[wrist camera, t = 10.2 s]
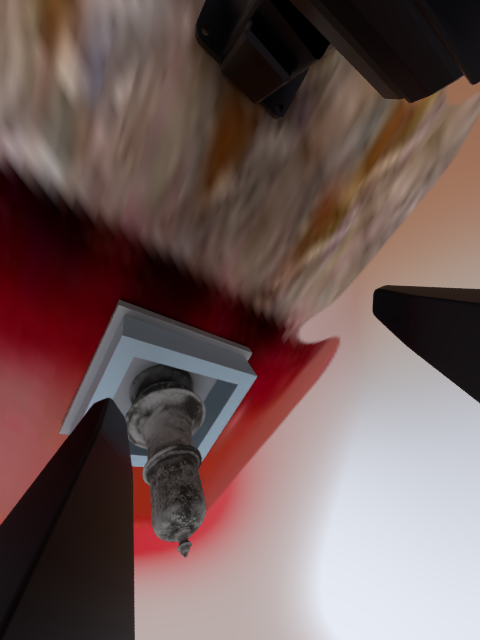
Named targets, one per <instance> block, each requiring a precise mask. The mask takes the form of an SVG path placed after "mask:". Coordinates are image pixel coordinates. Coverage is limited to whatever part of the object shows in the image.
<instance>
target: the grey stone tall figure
mask: <svg viewBox="0 0 480 640" xmlns="http://www.w3.org/2000/svg"><path fill="white" fill-rule="evenodd" d="M129 398H130V400H131V403H132V405H131V408H130V409H129V411H128V412H127V413H126V416H125V420H126V424H127V432H128V439H129V440H130V441H131V442H132V443H133V444H134V445H137V446H139V447H141V448H144V449H147V463H146V464H145V466H144V468H143V479H144V481H145V482H146V483H147V484H148V485H150V494H151V514H152V526H153V530H154V532H155V534H156V535H157V536H158V537H159V538H160V539H162V540H164V541H169V542H179V546H178V548H177V550H178V551H179V552H180V553H181V554H182V555H184V557H187V555H188V552H189V550H190V547H191V545H192V544H191V542H189V541H188V538H189V537H190V536H191V535H192V534H193V533H194V532H195V531H196V530H197V529H198V528H199V527H200V525H201V524H202V522H203V520H204V517H205V515H206V502H205V498H204V493H203V489H202V484H201V480H200V476H199V471H198V469H199V467H200V465H201V462H202V457H201V453H200V451H199V450H198V449H197V448H195V447H194V444H193V440H192V436H193V435H194V434H195V433H196V432H197V431H198V430H199V428H200V427H201V426H202V424H203V421H204V419H205V413H206V410H205V405H204V402H203V401H202V400H201V398H200V397H199V396H198V395H197V394H195V393H194V391H193V380H192V377H191V375H190V374H189V372H188V371H186V370H182V369H178V368H175V367H171V366H167V365H164V364H158V365H155V366H151V367H149V368H147V369H145V370H143V371H142V372H141V373H139V374H138V375H137V376H136V377H135V378H134V380H133V381H132V383H131V386H130V389H129Z"/></svg>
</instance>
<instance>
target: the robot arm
mask: <svg viewBox="0 0 480 640" xmlns="http://www.w3.org/2000/svg"><path fill="white" fill-rule="evenodd" d="M201 27H205V28H206V29H207V31H208V36H204V35H203V34H202V32H201ZM195 36H196V39H197V40H198V42H199V43H200V44H201V45H202V46H203V47H204V48H205V49H206V50H207V51H208V52H209V53H210V54H211V55H212V56H213V57H214V58H215V59H216V60H217V61H218V62H219V63H220V64H221V67H222V71H223V73H224V74H225V75H226V76H227V77H228V78H229V79H230V80H231V81H232V82H233V83H234V84H235V85H236V86H237V87H238V88H239V89H240V90H241V91H242V92H243V93H244V94H245V95H246V96H247V97H248V98H249V99H250V100H251V101H252V102H253V103H260V104H261V105H262V106H263V107H264V108H265V109H266V110H267V111H268V112H269V113H270V114H271V115H272V116H273V117H274V118H276V119H278V118H280V117H282V116H284V115H285V113H286V111H287V109H288V108H289V106H290V104H291V102H292V100H293V98H294V96H295V94H296V92H297V91H298V89H299V87H300V85H301V83H302V81H303V79H304V77H305V75H306V74H307V72H308V70H309V68H310V67H311V66H312V65H313V64H315V63H316V62H318V61H319V60H320V59H322V58H323V57H325V56H326V55H328V54H329V53H330V52H332V51H333V50H335V49H337V50H338V51H339V52H340V53H341V54H342V55H343V56H344V57H345V58H346V59H347V60H348V61H349V63H350V64H351V65H352V66H353V67H354V68H355V69H356V70H357V71H358V72H359V73H360V74H361V75H362V76H363V77H364V78H365V79H366V80H367V81H368V82H369V83H370V84H371V85H372V86H373V87H374V88H375V89H376V90H377V91H378V92H379V93H380V94H381V96H382V97H383V98H386V99H403V98H405V99H406V100H407V101H408V102H409V103H412V102H415V101H417V100H420V99H423V98H425V97H428V96H430V95H432V94H434V93H436V92H438V91H440V90H441V89H443V88H445V87H446V86H448V85H450V84H451V83H453V82H455V81H457V80H458V79H460V78H461V77H462V76H464V75H465V77H466V78H467V80H468V81H469V83H470V84H472V85H474V84H476V83H478V82H480V0H206V1H205V4H204V6H203V8H202V11H201V13H200V15H199V18H198V20H197V23H196V26H195ZM277 104H278V105H279V106H280V109H281V110H280V113H279V112H278V111H277V109H276V106H277ZM373 313H374V315H375V316H376V318H377V319H378V320H380V322H382V323H383V324H384V325H385V326H386V327H387V328H388V329H389V330H390V331H391V332H392V333H393V334H394V335H395V336H396V337H398V338H399V339H400V340H401V341H402V342H403V343H404V344H405V345H406V346H407V347H409V348H410V349H411V350H412V351H414V352H415V353H416V354H417V355H419V356H420V357H422V358H423V359H424V360H425V361H426V362H428V363H429V364H430V365H432V366H433V367H434V368H435V369H437V370H438V371H439V372H441V373H442V374H443V375H444V376H446V377H447V378H448V379H450V380H451V381H452V382H454V383H455V384H456V385H457V386H459V387H460V388H461V389H462V390H464V391H465V392H466V393H468V394H469V395H470V396H471V397H473V398H474V399H475V400H477V401H478V402H479V403H480V289H463V288H439V287H416V286H394V285H393V286H392V285H386V286H383V287H380V288H378V289H376V290H375V291H374V294H373ZM134 626H135V625H134V517H133V471H132V462H131V455H130V447H129V439H128V432H127V424H126V420H125V417H124V415H123V414H122V412H121V411H120V409H119V408H118V407H117V405H116V404H115V402H114V401H113V399H111V398H105V399H102V400H100V401H97V402H95V403H94V404H93V405H92V406H91V407H90V409H89V410H88V411H87V413H86V414H85V415H84V417H83V418H82V419H81V421H80V422H79V423H78V424H77V426H76V427H75V428H74V430H73V431H72V432H71V434H70V435H69V436H68V438H67V439H66V440H65V441H64V443H63V444H62V445H61V447H60V448H59V449H58V451H57V452H56V453H55V455H54V456H53V457H52V458H51V460H50V461H49V462H48V464H47V465H46V466H45V468H44V469H43V470H42V472H41V473H40V474H39V475H38V477H37V478H36V479H35V481H34V482H33V483H32V485H31V486H30V487H29V489H28V490H27V491H26V492H25V494H24V495H23V496H22V498H21V499H20V500H19V502H18V503H17V504H16V506H15V507H14V508H13V509H12V511H11V512H10V513H9V515H8V516H7V517H6V519H5V520H4V521H3V522H2V524H1V525H0V640H135V631H134V630H135V628H134Z"/></svg>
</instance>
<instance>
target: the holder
mask: <svg viewBox="0 0 480 640" xmlns="http://www.w3.org/2000/svg"><path fill="white" fill-rule="evenodd" d="M251 355H252V352H251V350H250V349H249V348H248V347H246V346H243V345H240V344H238V343H235V342H232V341H230V340H227V339H224V338H221V337H219V336H216V335H213V334H211V333H208V332H205V331H203V330H200V329H197V328H194V327H192V326H189V325H186V324H184V323H181V322H178V321H176V320H173V319H170V318H167V317H165V316H162V315H159V314H157V313H154V312H151V311H148V310H146V309H143V308H140V307H138V306H135V305H132V304H130V303H127V302H124V301H121V300H119V301H118V304H117V306H116V308H115V310H114V312H113V314H112V317H111V319H110V321H109V323H108V325H107V328H106V330H105V332H104V334H103V336H102V338H101V341H100V343H99V345H98V347H97V349H96V351H95V354H94V356H93V358H92V360H91V362H90V364H89V367H88V369H87V371H86V373H85V375H84V377H83V380H82V382H81V384H80V386H79V388H78V390H77V393H76V395H75V397H74V399H73V401H72V403H71V406H70V408H69V410H68V412H67V414H66V416H65V419H64V421H63V423H62V426H61V429H60V432H59V434H68V436H69V435H70V434H71V432H72V431H73V430H74V428H75V427H76V426H77V424H78V423H79V422H80V421H81V419H82V418H83V417H84V415H85V414H86V413H87V411H88V410H89V409H90V407H91V406H92V405H93V404H94V403H95V402H97V401H100V400H102V399H105V398H111V399H113V401H114V402H115V404H116V405H117V407H118V408H119V409H120V411H121V412H122V414H123V415H124V417H125V416H126V413H127V412H128V411H129V409H130V408H131V405H132V403H131V400H130V398H129V389H130V386H131V383H132V381H133V380H134V378H135V377H136V376H137V375H138V374H139V373H141V372H142V371H143V370H145V369H147V368H149V367H151V366H155V365H158V364H164V365H167V366H171V367H175V368H178V369H182V370H186V371H188V372H189V374H190V375H191V377H192V380H193V391H194V393H195V394H197V395H198V396H199V397H200V398H201V400H202V401H203V402H204V405H205V410H206V413H205V419H204V421H203V424H202V426H201V427H200V428H199V430H198V431H197V432H196V433H195V434H194V435H193V436H192V440H193V444H194V447H195V448H197V449H198V450H199V451H200V453H201V457H202V461H203V459H204V458H205V456H206V455H207V453H208V452H209V450H210V448H211V447H212V445H213V444H214V442H215V441H216V439H217V438H218V436H219V435H220V433H221V431H222V430H223V428H224V427H225V425H226V424H227V422H228V421H229V419H230V418H231V416H232V415H233V413H234V411H235V410H236V408H237V407H238V405H239V404H240V402H241V401H242V399H243V398H244V396H245V394H246V393H247V391H248V390H249V388H250V387H251V385H252V384H253V382H254V381H255V379H256V378H257V375H256V374H255V372H254V371H253V369H252V368H251V366H250V365H249V363H248V362H247V361H248V360H249V358H250V356H251ZM129 447H130V455H131V462H132V466H137V467H144V466H145V464H146V463H147V449H144V448H141V447H139V446H137V445H134V444H133V443H132V442H131V441H130V440H129Z"/></svg>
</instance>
